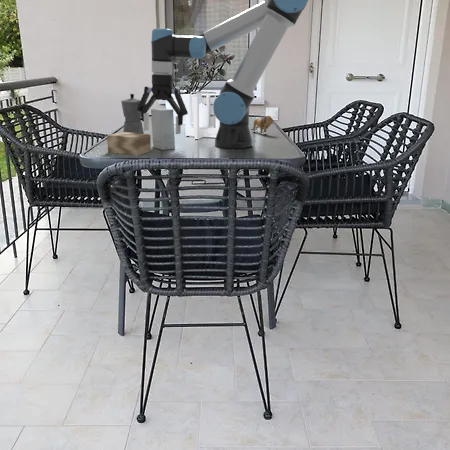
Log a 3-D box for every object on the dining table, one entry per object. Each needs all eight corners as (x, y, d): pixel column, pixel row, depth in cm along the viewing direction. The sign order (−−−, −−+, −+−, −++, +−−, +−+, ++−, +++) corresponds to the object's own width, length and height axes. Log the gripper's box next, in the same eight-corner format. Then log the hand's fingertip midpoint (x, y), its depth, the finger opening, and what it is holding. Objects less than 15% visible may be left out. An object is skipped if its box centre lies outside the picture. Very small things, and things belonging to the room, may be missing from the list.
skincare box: (175, 149, 183) (175, 109, 178) (161, 150, 180) (160, 110, 175) (165, 145, 189) (164, 107, 184) (151, 146, 186) (150, 108, 181)
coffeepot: (115, 135, 210) (113, 93, 205) (132, 133, 217) (131, 92, 211) (137, 139, 201) (136, 95, 195) (154, 137, 208) (154, 94, 202)
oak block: (150, 151, 178) (150, 134, 176) (136, 155, 169) (136, 137, 167) (123, 148, 182) (122, 131, 180) (107, 152, 173) (107, 135, 171)
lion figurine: (274, 135, 223) (275, 115, 220) (266, 136, 220) (267, 116, 217) (254, 131, 234) (255, 112, 231) (245, 132, 231) (246, 113, 228)
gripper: (197, 75, 175) (195, 133, 182) (137, 71, 183) (138, 127, 190) (188, 76, 168) (187, 136, 175) (127, 72, 176) (128, 130, 183)
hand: (162, 132), depth 182 cm, fingers open, 13 cm apart
